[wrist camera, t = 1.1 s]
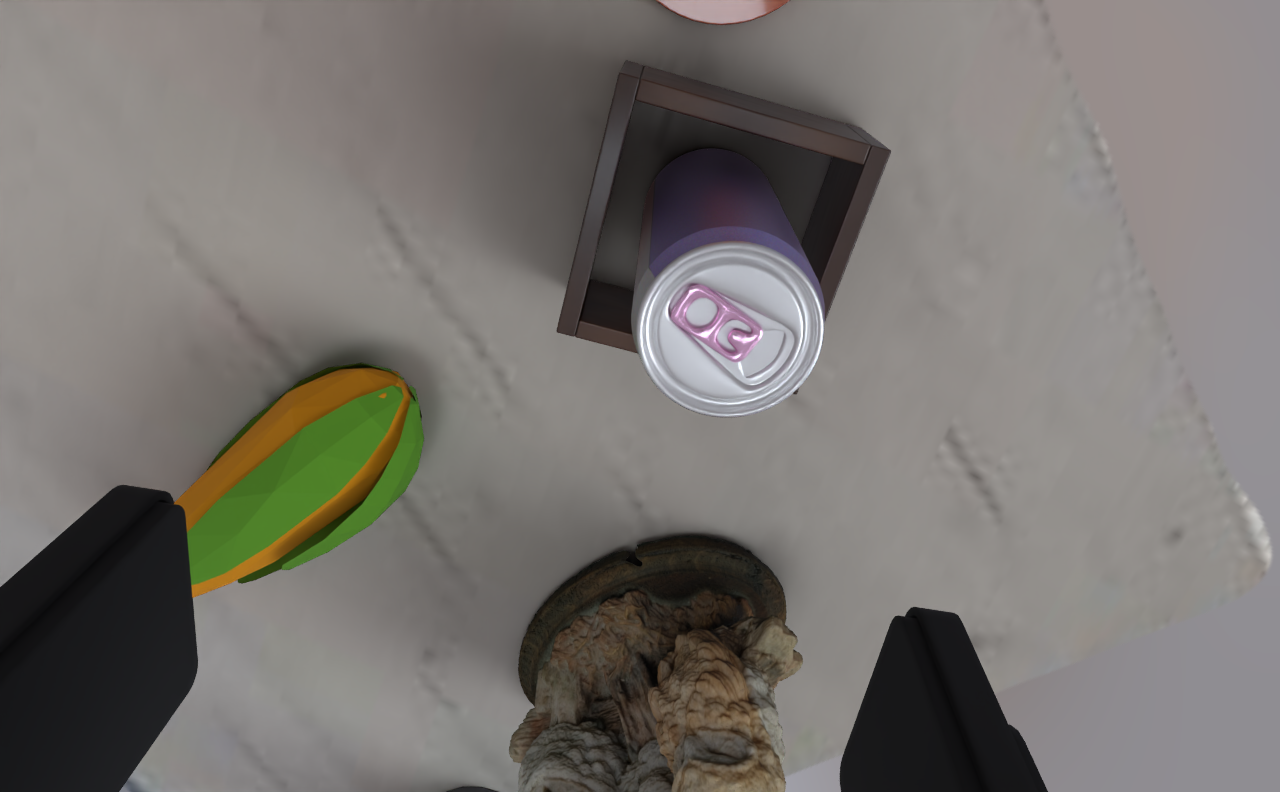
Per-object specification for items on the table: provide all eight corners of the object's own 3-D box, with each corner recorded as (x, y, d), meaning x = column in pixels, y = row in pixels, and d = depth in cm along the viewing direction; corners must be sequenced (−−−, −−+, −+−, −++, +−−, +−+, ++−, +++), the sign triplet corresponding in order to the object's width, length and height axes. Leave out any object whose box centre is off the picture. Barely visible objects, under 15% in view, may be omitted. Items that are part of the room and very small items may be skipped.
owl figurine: (708, 474, 45) (729, 731, 30) (841, 610, 49) (921, 901, 33) (472, 645, 51) (387, 935, 35) (608, 756, 54) (584, 1063, 39)
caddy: (569, 290, 41) (556, 332, 36) (625, 59, 36) (619, 72, 31) (781, 346, 42) (797, 395, 37) (862, 128, 37) (892, 150, 32)
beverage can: (696, 117, 37) (710, 194, 24) (802, 198, 39) (873, 314, 25) (618, 227, 39) (590, 355, 26) (721, 299, 41) (746, 457, 27)
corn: (440, 491, 37) (157, 703, 43) (483, 419, 44) (235, 609, 50) (315, 362, 35) (36, 602, 41) (381, 308, 42) (135, 520, 48)
